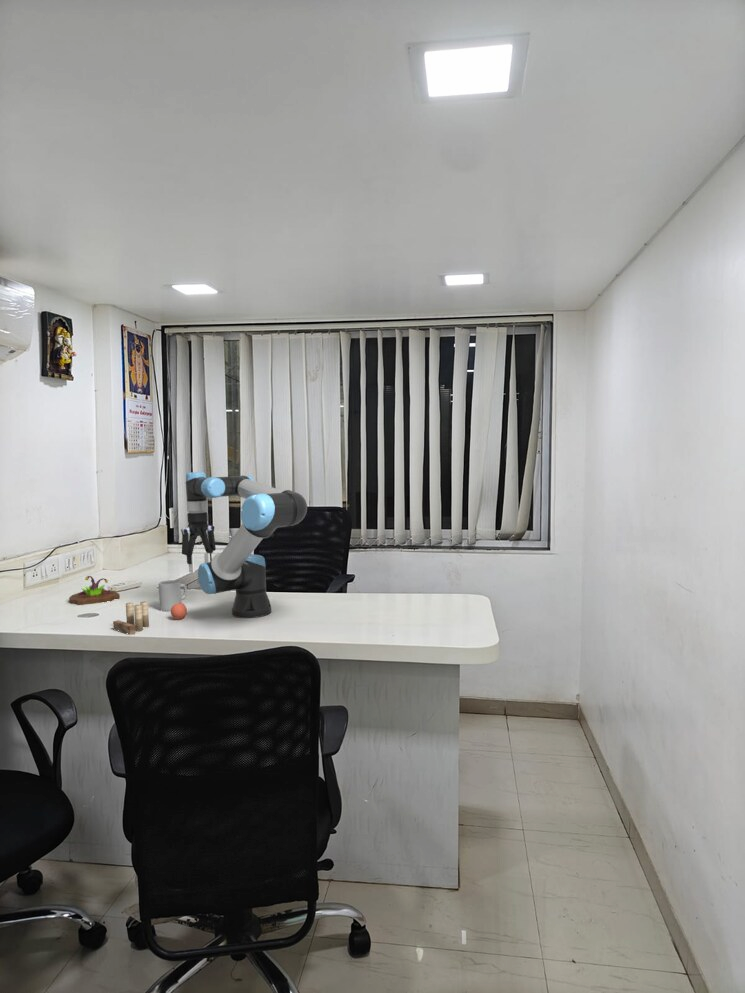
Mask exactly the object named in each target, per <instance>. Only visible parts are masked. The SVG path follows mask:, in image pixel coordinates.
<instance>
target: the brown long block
mask: <svg viewBox="0 0 745 993" xmlns="http://www.w3.org/2000/svg"><path fill="white" fill-rule="evenodd" d="M112 624H113V625H112V627H113V630H114V629H116V630H119V631H122V632H121V633H123V632H125V633H124V634H126V633H128V634H127V635H129V634H132V635H135V633H137V631H136V630H135V624H134V625H133V624H129V623H127V621H122V620H119V619H118V620H113V621H112ZM116 630H115V631H116ZM119 631H118V632H119Z"/></svg>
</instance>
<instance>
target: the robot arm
mask: <svg viewBox="0 0 745 993" xmlns="http://www.w3.org/2000/svg"><path fill="white" fill-rule="evenodd" d="M185 491H186V492H185V493H186V510H187V512H188V513H187V514H186V515H187V516H186V517H187V524H188V525H187V527H185V528H181V529H180V530H181V531H180V532H181V535H182V537H181V539H182V540H181V554H182V555H184V556H186V563H187V565H188V572H189V573H191V574H193V573H195V572H196V570H195V569H196V568H195V556H194V555H193V552H194V548H195V545H196V541H197V538H198V537H200V539H201V541H202V544H203V547H204V550H205V552H203V553H204V556H203V557H204V562H203V563H200V564H199V566H198V569H197V578H198V583H199V587H200V588H201V590H202V592H203V593H205V594H207V595H212V594H214V595H216V594H220V593H225V592H230V591H235V596H234V602H233V605H232V608H231V615H232V616H233V617H236V618H240V619H241V618H245V619H249V618H258V617H260V618H261V617H264V616H268V615H270V614H272V604H271V602H270V599H269V596H268V594H267V579H266V578H267V575H266V567H267V566H266V559H265V557H264V556H263V555H260V554H253V552H254V550H255V549H256V548H257V547H258V545H259V544H260V543H261V541H263V539H267V538H269V537H271V536H272V535H273V534H274V532H275V531H276V530H277V529H278V528H285V527H292V526H296V525H299V523H301V522H302V521H303V520H304V519H305V517H306V515H307V512H308V503H307V500H306V498H304V496H303V495H302V494H300V493H299V492H295V491H292V490H290V489H285V490H282V489H278V488H275V487H272V486H270V485H267V484H263V483H262V482H261V483H260V482H258V481H256V480H255V479H254V478H253V477H252V476H250V475H236V476H235V475H234V476H215V477H214V476H213V477H210V476H207V475H206V472H203V471H200V472H199V471H195V472H194V471H193V472H187V473H186V474H185ZM234 496H235V497H240V498H242V499H244V501H243V503H242V505H241V507H240V508H241V511H240V520H241V522H242V524H241V525H240V527H239V528H238V530H236V532H235V534H234V535H233V537H232V538H231V539H230V540H229V542H228V543H227V545H226V546H225V547H224V548H223V551H222V552H218V553H217V554H215V555H214V556H213V557H212V554H213V553H214V551H216V550H217V549H216V539H215V534H214V532H215V526H214V525H209V524H208V519H209V517H208V516H209V515H208V513H207V511H208V499H207V498H209V499H214V498H215V499H217V498H221V497H223V498H224V497H234Z"/></svg>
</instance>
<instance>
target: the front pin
mask: <svg viewBox="0 0 745 993" xmlns="http://www.w3.org/2000/svg"><path fill="white" fill-rule="evenodd" d="M139 605H142V618H143V627H147V628H149V627H150V621H149V602H148V601H141V602H140V604H139Z"/></svg>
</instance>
